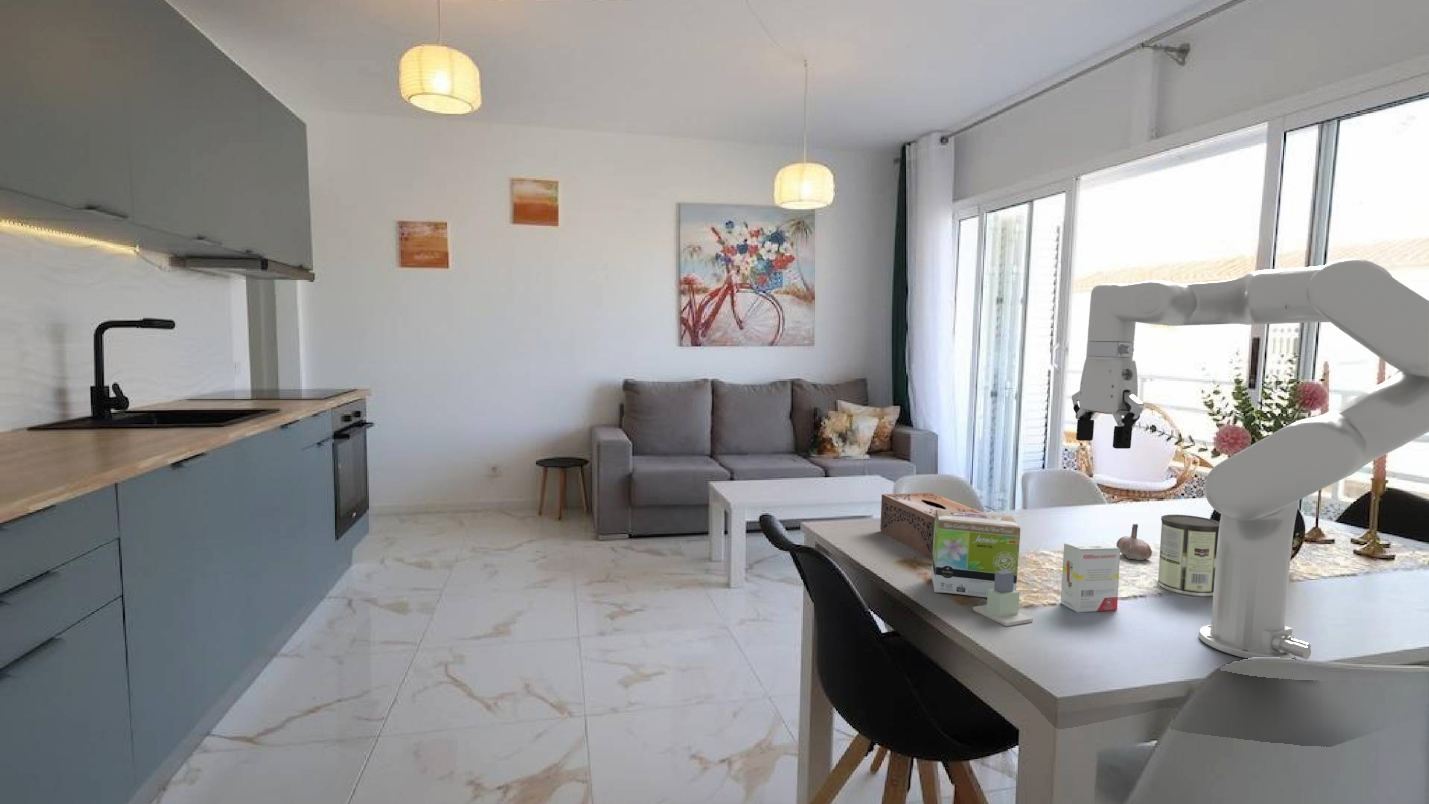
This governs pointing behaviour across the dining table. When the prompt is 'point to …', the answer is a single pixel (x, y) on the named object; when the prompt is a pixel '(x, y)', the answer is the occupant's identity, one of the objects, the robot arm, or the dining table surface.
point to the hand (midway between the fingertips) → (1102, 444)
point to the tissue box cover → (915, 518)
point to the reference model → (1003, 601)
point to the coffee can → (1188, 554)
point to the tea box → (972, 551)
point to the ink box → (1090, 577)
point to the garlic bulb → (1134, 546)
